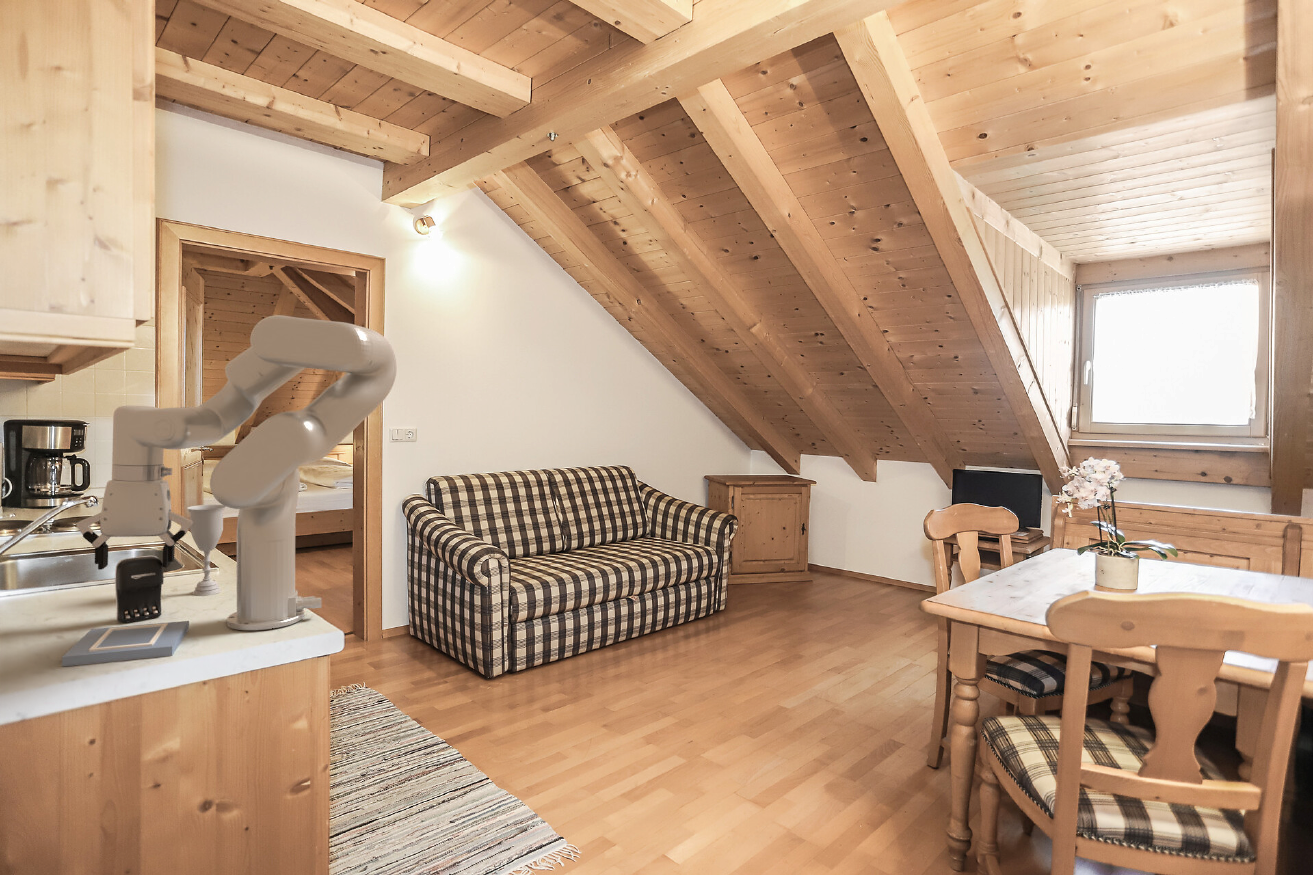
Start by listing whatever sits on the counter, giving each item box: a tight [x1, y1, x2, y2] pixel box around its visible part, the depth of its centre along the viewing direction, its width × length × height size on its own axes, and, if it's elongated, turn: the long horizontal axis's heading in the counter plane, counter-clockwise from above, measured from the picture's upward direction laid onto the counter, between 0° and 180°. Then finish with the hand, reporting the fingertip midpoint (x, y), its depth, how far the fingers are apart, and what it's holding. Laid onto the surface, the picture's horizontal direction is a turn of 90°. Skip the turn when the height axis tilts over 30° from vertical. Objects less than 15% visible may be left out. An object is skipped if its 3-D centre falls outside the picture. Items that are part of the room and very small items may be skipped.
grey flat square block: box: [61, 620, 190, 667], centre depth 117 cm, size 14×14×2 cm
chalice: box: [187, 504, 227, 597], centre depth 150 cm, size 7×7×18 cm
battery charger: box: [114, 555, 164, 623], centre depth 131 cm, size 7×4×11 cm, turn 140°
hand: (135, 566), depth 131 cm, fingers open, 9 cm apart
